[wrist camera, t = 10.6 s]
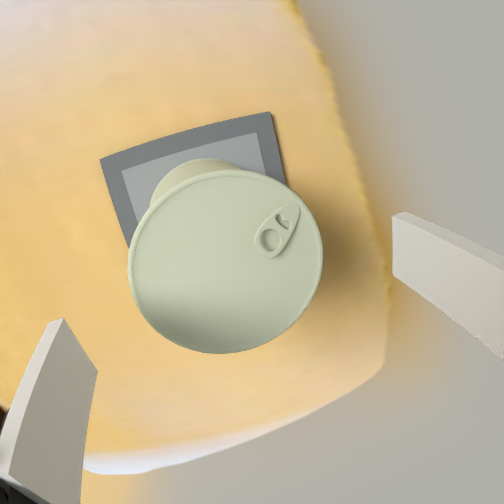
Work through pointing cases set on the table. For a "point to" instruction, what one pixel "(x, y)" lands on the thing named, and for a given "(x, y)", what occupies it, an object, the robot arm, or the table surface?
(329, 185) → the table surface
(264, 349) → the table surface
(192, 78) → the table surface
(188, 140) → the coaster
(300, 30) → the table surface
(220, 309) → the can
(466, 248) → the robot arm
